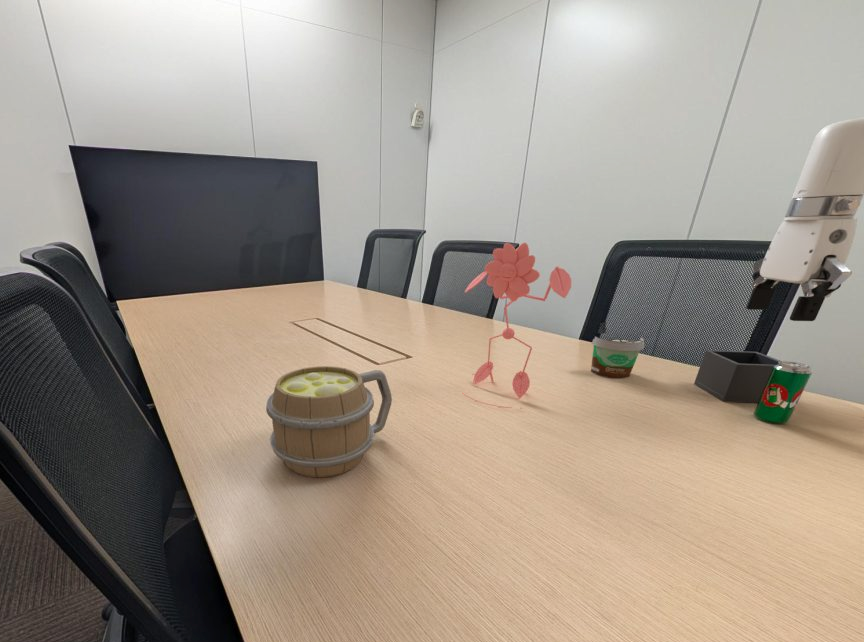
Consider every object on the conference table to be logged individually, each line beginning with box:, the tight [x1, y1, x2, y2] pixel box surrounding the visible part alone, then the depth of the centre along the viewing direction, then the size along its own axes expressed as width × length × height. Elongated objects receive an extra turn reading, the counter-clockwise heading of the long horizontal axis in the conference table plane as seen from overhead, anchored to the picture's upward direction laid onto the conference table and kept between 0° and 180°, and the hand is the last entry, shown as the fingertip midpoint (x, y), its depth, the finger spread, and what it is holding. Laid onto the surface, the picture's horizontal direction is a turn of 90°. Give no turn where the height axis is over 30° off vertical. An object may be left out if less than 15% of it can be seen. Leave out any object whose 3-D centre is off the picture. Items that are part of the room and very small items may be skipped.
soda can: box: [753, 360, 813, 425], centre depth 75 cm, size 5×5×12 cm
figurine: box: [463, 242, 572, 409], centre depth 86 cm, size 15×26×35 cm, turn 36°
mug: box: [265, 365, 393, 478], centre depth 68 cm, size 19×25×15 cm
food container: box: [590, 336, 645, 379], centre depth 100 cm, size 12×6×10 cm, turn 81°
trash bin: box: [694, 349, 782, 404], centre depth 87 cm, size 11×11×9 cm
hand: (777, 314), depth 67 cm, fingers open, 9 cm apart
